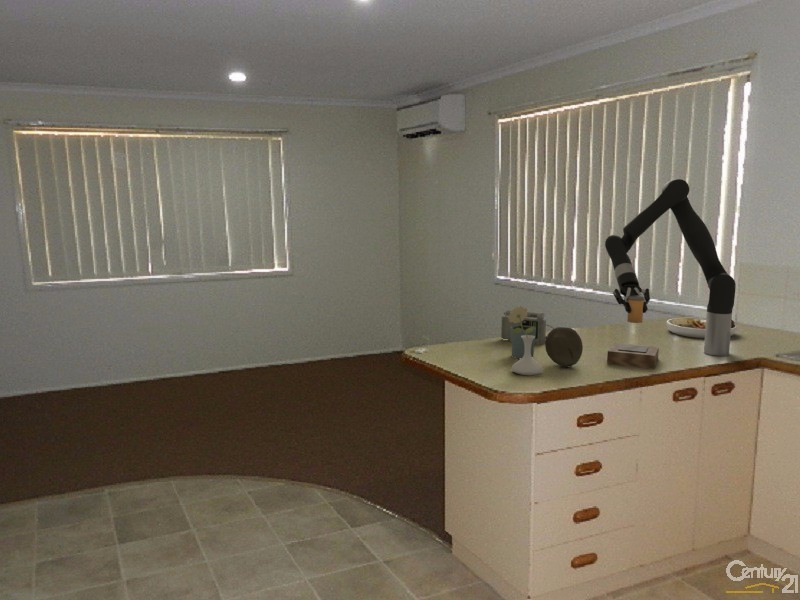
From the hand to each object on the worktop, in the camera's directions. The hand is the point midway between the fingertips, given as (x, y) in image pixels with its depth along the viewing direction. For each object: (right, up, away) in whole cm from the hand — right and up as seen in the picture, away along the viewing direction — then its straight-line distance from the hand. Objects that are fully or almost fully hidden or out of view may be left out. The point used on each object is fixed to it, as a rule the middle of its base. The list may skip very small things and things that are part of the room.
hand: (637, 311), depth 241 cm
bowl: (+52, -12, +58) cm, 79 cm away
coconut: (-29, -21, -2) cm, 36 cm away
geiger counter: (-33, -14, +40) cm, 54 cm away
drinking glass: (-42, -19, +13) cm, 47 cm away
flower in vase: (-46, -22, -12) cm, 52 cm away
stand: (0, -20, +5) cm, 20 cm away
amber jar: (0, -4, +2) cm, 5 cm away
